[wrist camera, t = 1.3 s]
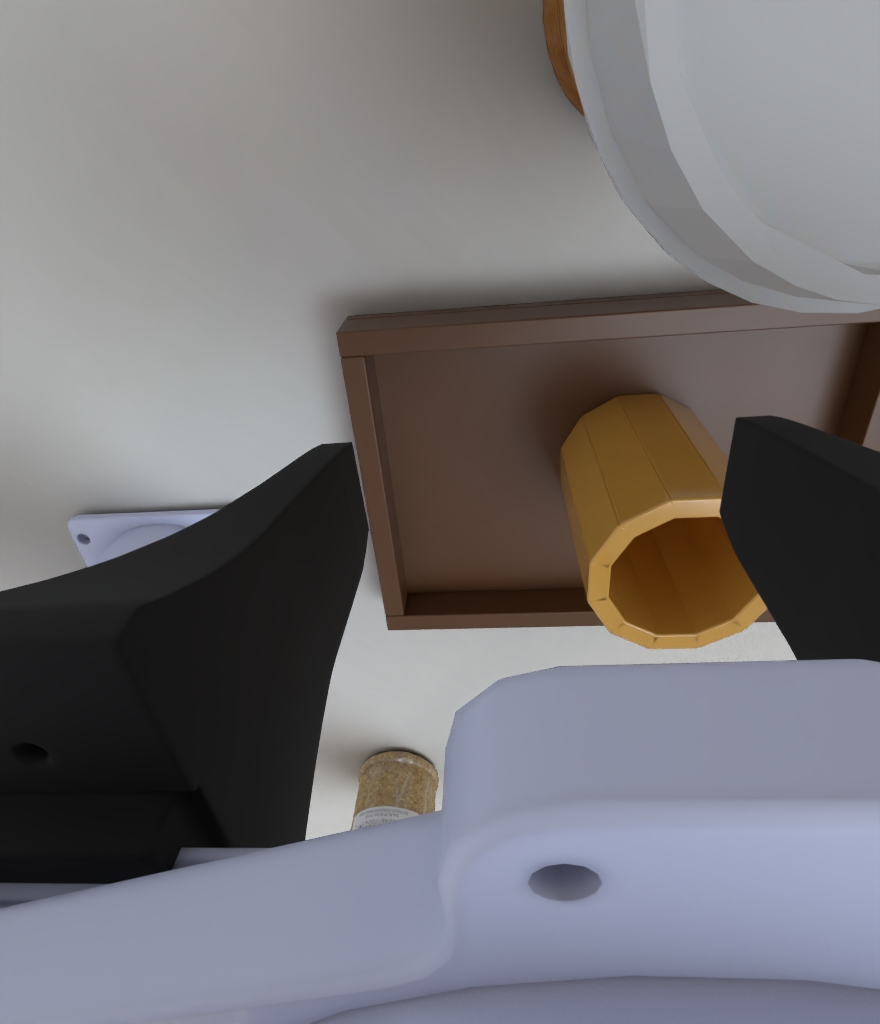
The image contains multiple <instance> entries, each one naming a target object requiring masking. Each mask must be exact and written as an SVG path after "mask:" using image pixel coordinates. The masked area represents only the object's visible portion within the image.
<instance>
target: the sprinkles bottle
mask: <svg viewBox="0 0 880 1024" xmlns="http://www.w3.org/2000/svg"><path fill="white" fill-rule="evenodd" d="M438 781H439V778H438V774H437V772H436V770H435V768H434V767H433V765H432V764H430V763H429V762H428V761H426V760H424V759H423V758H421V757H420V756H417V755H414V754H412V753H408V752H399V751H390V752H385V753H381V754H377V755H374V756H372V757H370V758H369V759H368V760H367V761H366V762H365V763H364V764H363V765H362V767H361V768H360V771H359V790H358V795H357V800H356V805H355V812H354V816H353V822H352V827H351V830H355V829H359V828H364V827H368V826H373V825H377V824H382V823H386V822H391V821H395V820H400V819H404V818H409V817H413V816H418V815H423V814H427V813H432V812H435V796H436V791H437V788H438Z"/></svg>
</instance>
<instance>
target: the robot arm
mask: <svg viewBox="0 0 880 1024" xmlns="http://www.w3.org/2000/svg"><path fill="white" fill-rule="evenodd" d="M719 513H720V516H721V518H722V521H723V524H724V527H725V529H726V532H727V535H728V537H729V540H730V542H731V545H732V547H733V550H734V552H735V554H736V556H737V558H738V560H739V561H740V563H741V565H742V567H743V568H744V570H745V572H746V573H747V575H748V577H749V579H750V580H751V582H752V584H753V585H754V587H755V589H756V590H757V592H758V594H759V595H760V597H761V599H762V600H763V602H764V604H765V605H766V607H767V609H768V610H769V612H770V614H771V615H772V617H773V619H774V620H775V622H776V624H777V625H778V627H779V629H780V630H781V632H782V634H783V635H784V637H785V639H786V640H787V642H788V644H789V645H790V647H791V649H792V651H793V653H794V655H795V657H796V659H797V660H789V661H749V662H710V663H670V664H630V665H591V666H559V667H554V668H550V669H545V670H540V671H535V672H531V673H526V674H521V675H517V676H512V677H507V678H503V679H500V680H498V681H496V682H495V683H494V684H492V685H491V686H490V687H488V688H487V689H486V690H484V691H483V692H482V693H480V694H479V695H478V696H476V697H475V698H474V699H472V700H471V701H470V702H468V703H467V704H466V705H464V706H463V707H462V708H460V709H459V710H458V711H456V713H455V717H454V721H453V724H452V728H451V732H450V735H449V739H448V743H447V746H446V750H445V767H444V784H443V802H442V810H441V811H436V812H432V813H427V814H423V815H418V816H413V817H409V818H404V819H400V820H395V821H391V822H386V823H382V824H377V825H373V826H368V827H364V828H359V829H355V830H350V831H346V832H341V833H337V834H332V835H328V836H323V837H319V838H314V839H310V840H305V836H306V828H307V821H308V814H309V807H310V800H311V793H312V785H313V778H314V771H315V765H316V759H317V753H318V747H319V740H320V734H321V728H322V722H323V717H324V711H325V706H326V700H327V695H328V690H329V684H330V679H331V675H332V671H333V667H334V663H335V659H336V656H337V652H338V649H339V646H340V643H341V640H342V636H343V633H344V630H345V627H346V624H347V620H348V617H349V614H350V611H351V608H352V604H353V601H354V598H355V595H356V591H357V588H358V585H359V581H360V578H361V574H362V571H363V566H364V560H365V553H366V546H367V539H368V531H369V528H368V523H367V518H366V512H365V507H364V502H363V497H362V492H361V487H360V481H359V476H358V471H357V466H356V461H355V456H354V450H353V445H352V442H348V443H333V444H321V445H319V446H317V447H315V448H313V449H311V450H310V451H308V452H307V453H305V454H304V455H302V456H301V457H299V458H298V459H296V460H295V461H293V462H292V463H291V464H289V465H288V466H286V467H285V468H283V469H282V470H280V471H279V472H278V473H276V474H275V475H273V476H272V477H270V478H269V479H267V480H266V481H265V482H263V483H262V484H260V485H259V486H257V487H255V488H254V489H252V490H251V491H249V492H248V493H246V494H244V495H243V496H241V497H240V498H238V499H236V500H235V501H233V502H232V503H230V504H228V505H227V506H225V507H224V508H222V509H209V510H185V511H161V512H137V513H113V514H89V515H76V516H74V517H73V518H72V519H71V520H70V521H69V522H68V525H67V526H68V529H69V531H70V533H71V535H72V537H73V539H74V541H75V544H76V546H77V548H78V550H79V552H80V554H81V556H82V558H83V560H84V562H85V564H86V566H87V568H84V569H81V570H77V571H74V572H71V573H68V574H64V575H61V576H58V577H55V578H51V579H47V580H44V581H40V582H37V583H33V584H29V585H25V586H21V587H17V588H13V589H9V590H5V591H0V1024H880V452H878V451H875V450H873V449H870V448H867V447H864V446H862V445H859V444H856V443H854V442H851V441H848V440H846V439H843V438H840V437H837V436H835V435H832V434H829V433H827V432H824V431H821V430H819V429H816V428H813V427H810V426H808V425H805V424H802V423H799V422H796V421H792V420H789V419H786V418H782V417H777V416H772V415H767V416H752V417H736V419H735V425H734V431H733V436H732V442H731V448H730V453H729V459H728V465H727V470H726V476H725V482H724V487H723V493H722V499H721V504H720V510H719ZM83 534H84V535H86V536H88V538H89V539H88V538H86V537H85V536H84V535H83Z"/></svg>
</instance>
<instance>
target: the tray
mask: <svg viewBox="0 0 880 1024" xmlns="http://www.w3.org/2000/svg"><path fill="white" fill-rule="evenodd" d="M336 335H337V341H338V346H339V352H340V356H341V363H342V368H343V374H344V380H345V386H346V391H347V397H348V403H349V408H350V414H351V420H352V426H353V431H354V437H355V443H356V449H357V454H358V460H359V466H360V471H361V477H362V483H363V489H364V494H365V500H366V506H367V512H368V517H369V523H370V529H371V535H372V540H373V546H374V552H375V557H376V563H377V569H378V575H379V580H380V586H381V592H382V598H383V603H384V609H385V614H386V621H387V627H388V630H420V629H467V628H513V627H559V626H604V624H603V623H602V621H601V620H600V619H599V617H598V616H597V615H596V613H595V612H594V610H593V609H592V608H591V606H590V605H589V603H588V601H587V598H586V594H585V589H584V585H583V580H582V576H581V572H580V567H579V563H578V558H577V554H576V549H575V545H574V540H573V536H572V532H571V527H570V523H569V518H568V514H567V509H566V505H565V500H564V496H563V491H562V487H561V483H560V454H561V448H562V445H563V444H564V442H565V441H566V439H567V438H568V436H569V435H570V433H571V432H572V430H573V428H574V427H575V425H576V424H577V422H578V421H579V419H580V418H581V417H582V416H583V415H585V414H586V413H588V412H590V411H592V410H593V409H595V408H597V407H599V406H600V405H602V404H604V403H606V402H607V401H609V400H611V399H613V398H615V397H618V396H622V395H640V394H662V395H664V396H666V397H668V398H669V399H671V400H673V401H675V402H677V403H679V404H681V405H683V406H685V407H687V408H689V409H691V410H692V411H693V412H694V413H695V415H696V416H697V417H698V419H699V420H700V421H701V423H702V424H703V425H704V427H705V428H706V429H707V431H708V432H709V433H710V435H711V436H712V437H713V439H714V440H715V441H716V443H717V444H718V445H719V447H720V448H721V449H722V451H723V452H724V453H725V455H726V456H727V457H728V459H729V453H730V448H731V442H732V436H733V431H734V425H735V419H736V417H752V416H767V415H772V416H777V417H782V418H786V419H789V420H792V421H796V422H799V423H802V424H805V425H808V426H810V427H813V428H816V429H819V430H821V431H824V432H827V433H829V434H832V435H835V436H837V437H840V438H843V439H846V440H848V441H851V442H854V443H856V444H859V445H862V446H864V447H867V448H870V449H873V450H875V451H878V452H880V309H877V310H872V311H867V312H862V313H800V312H795V311H791V310H786V309H781V308H776V307H771V306H766V305H761V304H757V303H752V302H749V301H747V300H745V299H742V298H740V297H738V296H736V295H734V294H731V293H729V292H727V291H725V290H709V291H695V292H681V293H667V294H653V295H639V296H625V297H611V298H597V299H583V300H569V301H555V302H541V303H527V304H512V305H498V306H484V307H470V308H456V309H442V310H428V311H414V312H400V313H386V314H372V315H358V316H348V317H347V319H346V320H345V321H344V323H343V324H342V326H341V327H340V328H339V330H338V331H337V333H336ZM754 622H775V620H774V619H773V617H772V615H771V614H770V612H769V610H768V609H767V610H766V611H765V612H764V613H762V614H761V615H760V616H759V617H758V618H757V619H756V620H755V621H754Z"/></svg>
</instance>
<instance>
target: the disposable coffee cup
mask: <svg viewBox="0 0 880 1024" xmlns="http://www.w3.org/2000/svg"><path fill="white" fill-rule="evenodd" d="M543 23H544V30H545V37H546V43H547V49H548V54H549V57H550V60H551V63H552V66H553V69H554V72H555V75H556V77H557V80H558V82H559V83H560V85H561V87H562V89H563V91H564V93H565V95H566V96H567V98H568V99H569V100H570V101H571V103H572V104H573V105H574V106H575V107H576V108H577V110H578V111H579V112H580V113H581V114H582V115H583V116H584V117H585V119H586V122H587V126H588V130H589V133H590V135H591V137H592V140H593V142H594V144H595V146H596V148H597V150H598V152H599V154H600V156H601V159H602V161H603V163H604V165H605V167H606V169H607V171H608V173H609V175H610V178H611V180H612V182H613V184H614V186H615V188H616V190H617V191H618V193H619V195H620V196H621V198H622V199H623V201H624V202H625V204H626V206H627V207H628V208H629V209H630V211H631V212H632V213H633V214H634V215H635V217H636V218H637V219H638V220H639V221H640V223H641V224H642V225H643V226H644V227H645V228H646V230H647V231H648V232H649V233H650V234H651V236H652V237H653V238H654V239H655V240H656V242H657V243H658V244H659V245H660V246H661V248H662V249H663V250H664V251H665V252H666V253H668V254H669V255H670V256H671V257H673V258H674V259H675V260H677V261H678V262H680V263H681V264H682V265H684V266H685V267H686V268H688V269H689V270H691V271H692V272H693V273H695V274H696V275H697V276H699V277H700V278H701V279H703V280H704V281H706V282H707V283H709V284H712V285H714V286H716V287H718V288H720V289H723V290H725V291H727V292H729V293H731V294H734V295H736V296H738V297H740V298H742V299H745V300H747V301H749V302H752V303H757V304H761V305H766V306H771V307H776V308H781V309H786V310H791V311H795V312H800V313H862V312H867V311H872V310H877V309H880V0H543Z"/></svg>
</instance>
